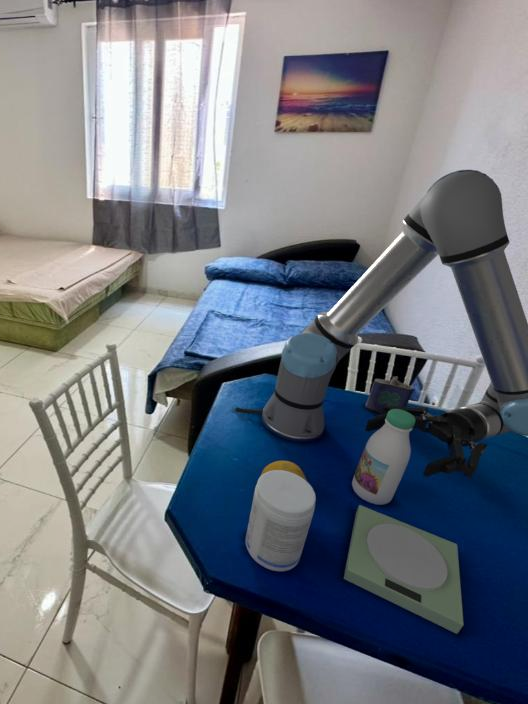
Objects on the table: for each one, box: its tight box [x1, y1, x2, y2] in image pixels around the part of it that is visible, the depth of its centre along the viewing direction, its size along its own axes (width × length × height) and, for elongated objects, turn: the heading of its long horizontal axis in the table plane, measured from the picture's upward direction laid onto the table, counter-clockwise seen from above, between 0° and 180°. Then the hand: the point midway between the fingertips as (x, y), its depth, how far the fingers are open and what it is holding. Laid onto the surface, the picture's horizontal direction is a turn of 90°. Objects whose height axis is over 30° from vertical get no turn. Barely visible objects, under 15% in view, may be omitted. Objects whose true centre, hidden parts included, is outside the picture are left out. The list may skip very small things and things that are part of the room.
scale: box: [343, 504, 465, 635], centre depth 70 cm, size 16×16×3 cm
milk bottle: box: [351, 409, 415, 506], centre depth 81 cm, size 8×8×20 cm
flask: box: [365, 375, 414, 413], centre depth 109 cm, size 9×3×11 cm, turn 65°
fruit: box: [260, 460, 307, 481], centre depth 82 cm, size 9×8×8 cm
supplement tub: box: [245, 470, 317, 572], centre depth 69 cm, size 10×10×15 cm
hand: (395, 446), depth 80 cm, fingers open, 13 cm apart
